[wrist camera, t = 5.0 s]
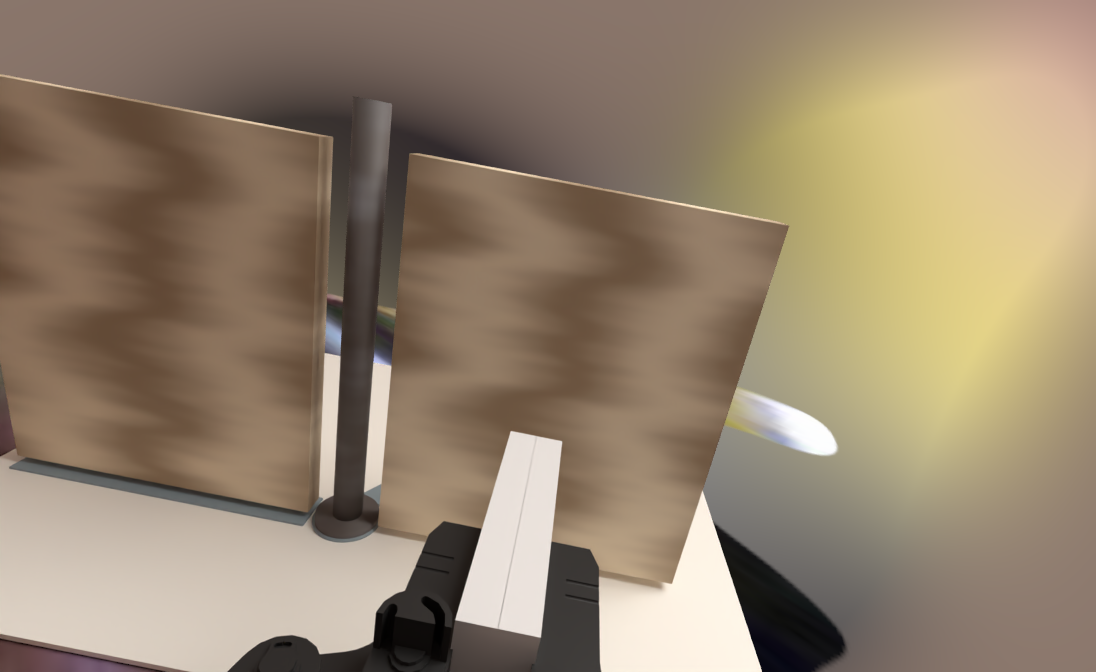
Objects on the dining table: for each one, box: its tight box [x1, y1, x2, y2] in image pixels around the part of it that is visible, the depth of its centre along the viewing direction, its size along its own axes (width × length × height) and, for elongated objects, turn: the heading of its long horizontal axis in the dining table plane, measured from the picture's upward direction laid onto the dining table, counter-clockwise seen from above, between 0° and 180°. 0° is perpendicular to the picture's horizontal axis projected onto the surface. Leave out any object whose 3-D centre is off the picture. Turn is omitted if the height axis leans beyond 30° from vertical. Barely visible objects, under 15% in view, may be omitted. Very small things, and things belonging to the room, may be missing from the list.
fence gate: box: [378, 153, 789, 584], centre depth 20 cm, size 12×1×15 cm, turn 86°
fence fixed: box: [0, 74, 392, 539], centre depth 20 cm, size 15×3×17 cm, turn 86°
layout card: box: [0, 353, 762, 672], centre depth 27 cm, size 32×23×1 cm
